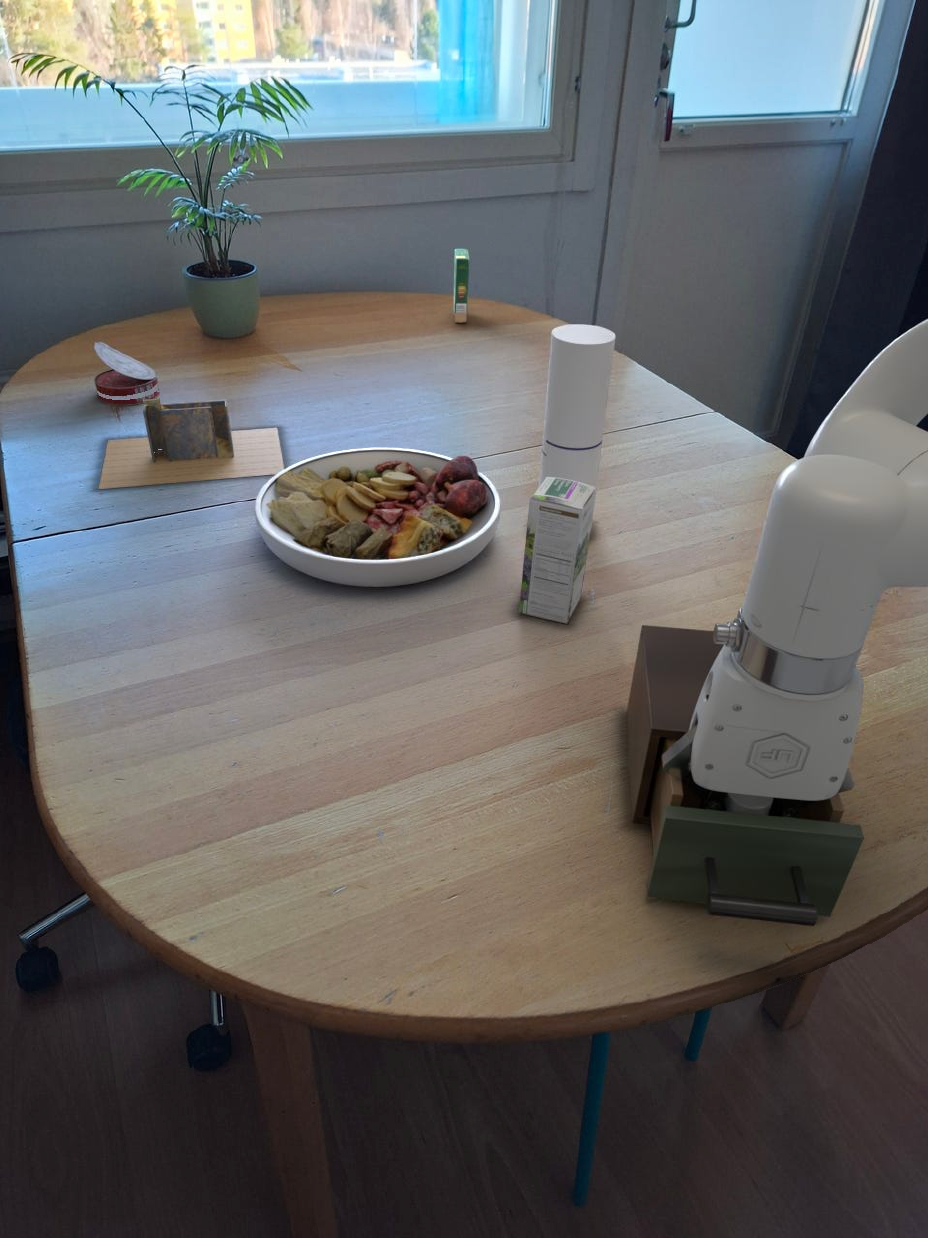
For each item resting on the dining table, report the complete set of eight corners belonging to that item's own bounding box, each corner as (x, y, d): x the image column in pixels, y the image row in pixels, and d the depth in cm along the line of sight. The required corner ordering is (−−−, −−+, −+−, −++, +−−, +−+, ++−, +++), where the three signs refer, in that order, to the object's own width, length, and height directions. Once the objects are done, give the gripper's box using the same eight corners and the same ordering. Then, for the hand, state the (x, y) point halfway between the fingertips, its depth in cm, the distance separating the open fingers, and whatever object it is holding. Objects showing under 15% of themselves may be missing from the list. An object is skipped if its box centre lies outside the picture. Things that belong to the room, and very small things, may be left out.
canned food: (126, 410, 152) (131, 351, 151) (170, 415, 148) (176, 354, 147) (72, 399, 142) (77, 336, 141) (118, 404, 138) (123, 339, 136)
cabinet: (812, 841, 71) (848, 746, 65) (632, 822, 72) (651, 728, 66) (781, 728, 82) (810, 638, 76) (626, 714, 83) (641, 624, 77)
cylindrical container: (560, 548, 108) (581, 348, 94) (524, 524, 113) (538, 330, 99) (602, 532, 112) (628, 337, 97) (565, 509, 117) (585, 320, 102)
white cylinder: (754, 822, 68) (769, 777, 65) (761, 857, 65) (777, 811, 63) (710, 818, 68) (723, 772, 66) (715, 852, 66) (729, 806, 63)
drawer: (845, 972, 61) (883, 892, 56) (650, 950, 62) (670, 870, 57) (796, 792, 74) (824, 715, 69) (638, 777, 76) (653, 700, 70)
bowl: (325, 630, 93) (319, 568, 89) (222, 513, 113) (214, 458, 109) (546, 554, 107) (552, 497, 103) (420, 462, 127) (420, 411, 123)
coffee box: (467, 323, 182) (469, 257, 174) (454, 323, 182) (455, 257, 174) (466, 312, 188) (468, 248, 181) (453, 312, 188) (454, 247, 181)
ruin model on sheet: (98, 489, 118) (81, 421, 113) (108, 440, 131) (93, 376, 125) (285, 473, 123) (278, 407, 118) (277, 427, 136) (270, 366, 131)
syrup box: (533, 587, 101) (543, 473, 93) (583, 599, 99) (597, 484, 91) (518, 613, 97) (526, 496, 88) (569, 626, 95) (583, 508, 87)
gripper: (670, 671, 54) (629, 865, 64) (947, 696, 53) (859, 889, 63) (661, 603, 60) (625, 790, 71) (909, 624, 59) (834, 811, 69)
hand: (736, 835), depth 67 cm, fingers closed on white cylinder, 3 cm apart
